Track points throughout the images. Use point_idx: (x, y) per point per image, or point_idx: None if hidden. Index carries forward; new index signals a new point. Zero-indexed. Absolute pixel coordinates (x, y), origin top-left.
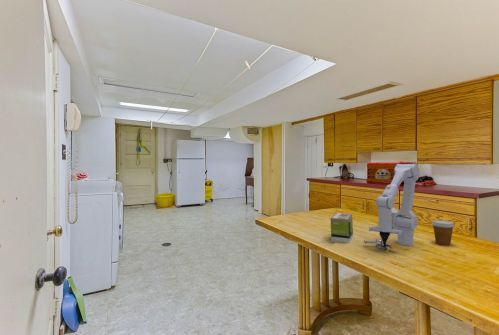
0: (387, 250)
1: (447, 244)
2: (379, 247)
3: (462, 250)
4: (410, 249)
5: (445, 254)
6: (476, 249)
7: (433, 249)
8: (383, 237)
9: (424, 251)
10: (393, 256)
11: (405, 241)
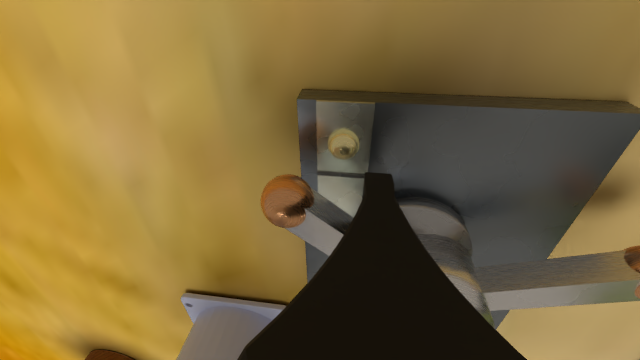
0: (342, 144)
1: (89, 355)
2: (436, 208)
3: (21, 318)
4: (200, 279)
5: (23, 259)
6: (2, 334)
7: (107, 305)
8: (417, 316)
9: (123, 270)
10: (273, 58)
11: (216, 346)
